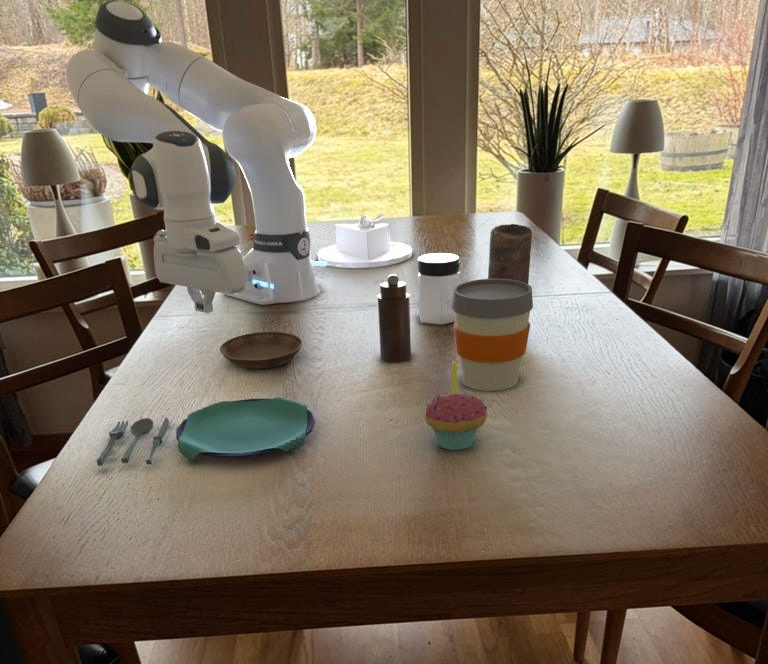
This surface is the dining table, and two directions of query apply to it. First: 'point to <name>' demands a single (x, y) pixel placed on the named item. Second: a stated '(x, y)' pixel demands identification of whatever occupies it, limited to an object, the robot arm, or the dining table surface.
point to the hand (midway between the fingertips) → (204, 311)
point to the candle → (510, 252)
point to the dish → (364, 246)
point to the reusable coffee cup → (491, 331)
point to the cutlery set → (228, 430)
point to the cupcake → (455, 416)
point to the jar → (437, 287)
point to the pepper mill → (394, 321)
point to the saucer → (261, 349)
